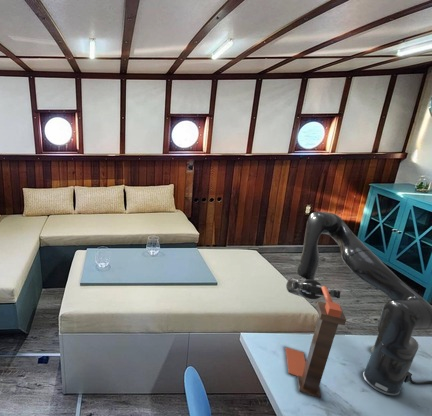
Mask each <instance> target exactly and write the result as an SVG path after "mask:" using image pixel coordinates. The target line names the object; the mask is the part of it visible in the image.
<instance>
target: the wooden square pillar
mask: <svg viewBox="0 0 432 416" xmlns="http://www.w3.org/2000/svg"><path fill="white" fill-rule="evenodd" d="M325 305H326V302H321V301H317V302H316V305H315V308H316V311H317V314H318V315H317V316H318V317H317V321H316V325H315V329H314V332H313V336H312V339H311V343H310V346H309V350H308V352H307V357H306V359H305V362H306V364H305V367H304V371H303V375H302V376H299V375H298V376H296V379H297V385H298V392H299V393H303V394H305V395H309V396H312V397H315V398H317V399H322V394H321V389H320V384H321V381H322V378H323V375H324V372H325V369H326V365H327V363H328V360H329V356H330V354H331V349H332V346H333V344H334V339H335V337H336V333H337V329H338V326H339V325H342V326H345V325H346V322H347V318H346V315H345V313H344V311H343V309H342V307H341V306H340V308H341V310H342V313H341V316H340V318H338V317H333V316H329V315H327V312H326V309H325Z"/></svg>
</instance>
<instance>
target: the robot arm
mask: <svg viewBox="0 0 432 416" xmlns="http://www.w3.org/2000/svg"><path fill="white" fill-rule="evenodd" d="M305 226H306V227H305V231H304V232H305V233H304V239H303V247H302V253H301V256H300V258H299V261H298V265H297V268H296V274H297V275H298V276H299V277H301V278H303V279H302V280H301V279H298V278H296V277H292V278H290V279H288V280H287V282H286V284H285V287H286V290H287V292H288V293H289V294H291V295H295V296H297V297H301V298H304V299H309V300H317V299H320V298H321V297H324V294H323V291H322V289H321V287H322V286H323V285H322V284H321V283H320V282H319V281H317V280H316V274H317V271H318V268H319V266H320V260H321V259H320V258H321V257H320V253H319V247H318V243H319V239H320V237H321V235H328V236H329V237H331V238H332V239H333V240H334V241H335V243H336V244H337V245H338V246H339V249H340V250H339V251H340V256H341V260H342V261H343V263H344V264H345V265H346V266H347V267H348V269H349V270H350V271H351V272H352V273H353V274H354V275H355V276H356V277H358V279H360V280H362V281H364V282H365V283H367V284H368V285H371V286H372V287H374V288H376V289H378V290H379V291H381V292H382V293H384V294H385V295H386V296H387V297H389V298H390V299H389V300H387V301H386V302H385V304H383V307H382V309H381V313H380V317H379V319H378V324H377V331H378V334H377V337H376V340H375V342H374V344H375V345H374V344H373V346H374V347H373V346H372V347H373V350H372V352H371V353H370V356H369V358H368V361H367V364H366V366H365V369H364V371H363V373H362V378H363V380H364V382H365V383H366V384H367V385H368V386H369V387H371V388H372V389H374V390H376V391H377V392H379V393H381V394H383V395H387V396H391V397H395V396H396V397H397V396H398V395H399V394H400V392H401V389H402V387H403V385H404V383H405V384H406V383H408V382H410V384H413V385H429V384H432V380H425V381H414V380H413V373H412V372H409V371H410V368H411V366H412V363H413V361H414V359H415V356H416V354H417V352H418V351H419V346H420V345H419V342H418V341H417V339H416V338H415V337H413V336H412V335H413V332H414V331H428V330H432V305H431V304H430V303H429V302H428V301H427V300H426V299H424V298H423V297H422V296H421V295H419V293H417V292H416V291H415V290H414V289H412V288H411V287H410V286H408V284H406V283H405V282H404V281H403V280H401V279H400V277H398V276H397V275H396V274H395V273H394V271H392V270H391V269H390V268H389V267H388V266H387V265H386V264H385V263H384V262H383V261H382V260H381V258H379V257H378V256H377V255H376V254H375V253H374V252H373V251H372V250H371V249H370V248H369V247H368V246H367V245H366V244H365V243H364V242H363V241H362V240H361V239H360V238H359V237H357V235H356V234H354V233H353V231H352V230H351V229H350V228H349V226H348V225H347V224H346V222H345V221H344V220H343V219H342V217H340V216H339V215H338V214H336V213H333V212H327V211H314V212H312V213H310V215H308V218H307V221H306V225H305ZM327 289H328V291H329V294H330V296H331V298H334V299H341V292H342V291H340V290H337V289H331V288H330V287H327Z"/></svg>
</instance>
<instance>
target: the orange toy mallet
mask: <svg viewBox="0 0 432 416" xmlns="http://www.w3.org/2000/svg"><path fill="white" fill-rule="evenodd" d="M321 286H322V287H321V289H322V291H323V294H324V296H323V297H324V300H325V303H326V305H325V309H326V312H327V315H329V316H333V317H338V318H340V316H341V313H342V311H343V309H342V307H341V306H340V304H339V303H338V302H334V301H333V299H332V297H331V296H330V294H329V292H330V291H328V289H327V288H328V287H327V286H326V285H321ZM340 307H341V308H340ZM341 309H342V310H341Z"/></svg>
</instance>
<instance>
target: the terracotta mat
mask: <svg viewBox="0 0 432 416" xmlns="http://www.w3.org/2000/svg"><path fill="white" fill-rule="evenodd" d="M285 354H286V360H287V361H286V362H287V363H286V364H287V369H288V370H287V371H288V375H292V376H295V377H297V376H298V375H299V376H302V375H303V371H304V367H305V364H306V358H305V357H306V356H305V352H303V351H300V350H297V349H293V348H291V347H285Z"/></svg>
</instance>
